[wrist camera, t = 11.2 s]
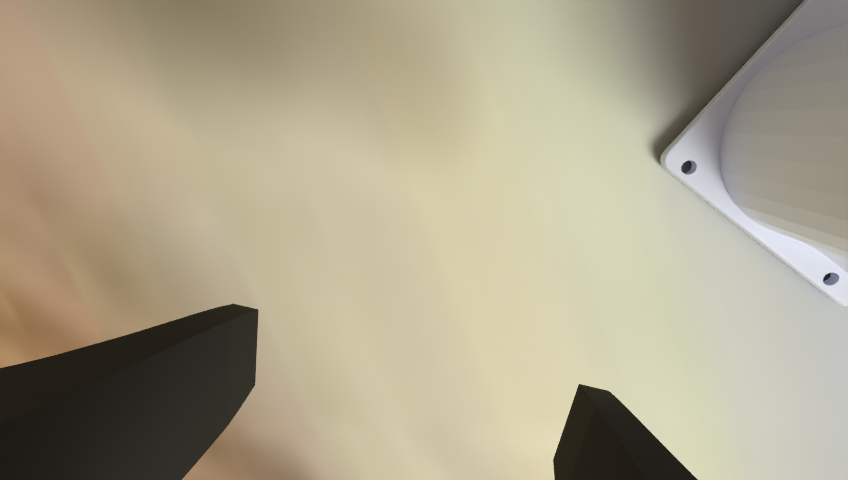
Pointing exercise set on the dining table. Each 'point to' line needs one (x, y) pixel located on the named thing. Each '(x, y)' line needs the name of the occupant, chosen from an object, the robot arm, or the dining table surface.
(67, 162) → the dining table surface
